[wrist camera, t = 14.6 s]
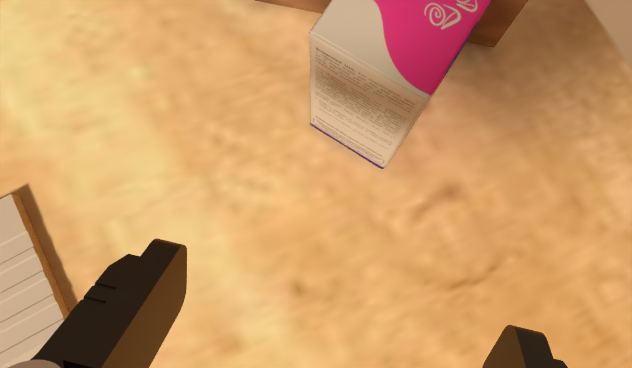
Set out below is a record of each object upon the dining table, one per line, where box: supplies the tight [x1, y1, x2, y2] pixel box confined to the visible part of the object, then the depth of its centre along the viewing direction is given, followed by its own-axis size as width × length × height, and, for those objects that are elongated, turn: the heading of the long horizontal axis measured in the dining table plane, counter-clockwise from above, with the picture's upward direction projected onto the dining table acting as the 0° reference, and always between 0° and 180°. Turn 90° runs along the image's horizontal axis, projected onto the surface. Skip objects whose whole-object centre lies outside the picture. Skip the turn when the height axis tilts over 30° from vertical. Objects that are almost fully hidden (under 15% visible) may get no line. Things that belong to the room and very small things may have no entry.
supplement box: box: [309, 0, 491, 169], centre depth 24 cm, size 6×6×12 cm
